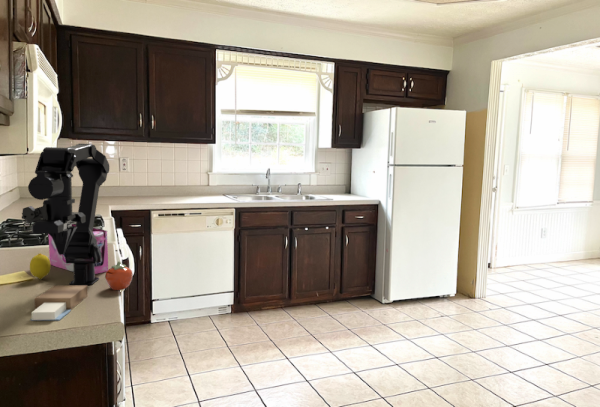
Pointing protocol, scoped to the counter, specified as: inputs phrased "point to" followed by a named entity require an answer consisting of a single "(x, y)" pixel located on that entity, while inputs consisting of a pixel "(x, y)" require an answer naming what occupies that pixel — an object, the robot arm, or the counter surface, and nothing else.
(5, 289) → the counter surface
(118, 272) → the tomato
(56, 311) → the white rectangular block
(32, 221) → the robot arm
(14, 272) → the counter surface
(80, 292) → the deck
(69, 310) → the mat
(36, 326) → the counter surface
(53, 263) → the gum box
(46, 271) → the lemon
